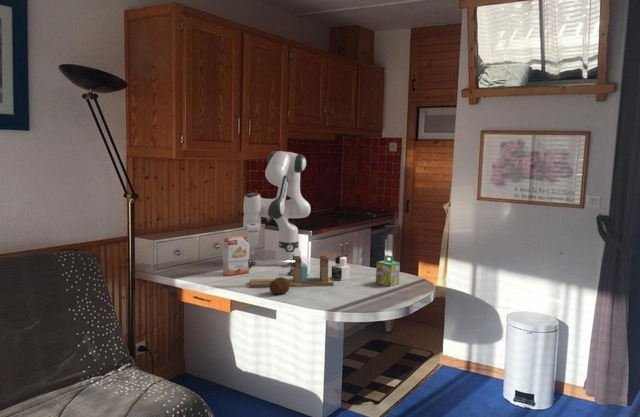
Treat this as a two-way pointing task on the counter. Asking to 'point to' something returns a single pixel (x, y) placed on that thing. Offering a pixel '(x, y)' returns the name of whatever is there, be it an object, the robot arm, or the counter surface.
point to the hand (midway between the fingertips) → (252, 252)
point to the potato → (279, 285)
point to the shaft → (270, 263)
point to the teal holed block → (303, 272)
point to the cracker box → (235, 255)
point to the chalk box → (387, 272)
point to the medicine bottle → (340, 269)
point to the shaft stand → (297, 276)
